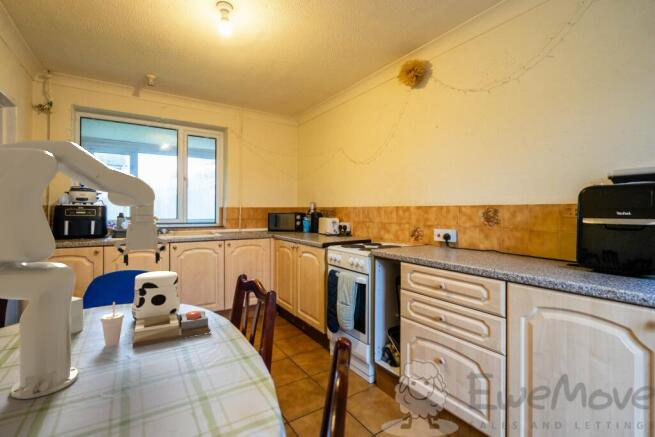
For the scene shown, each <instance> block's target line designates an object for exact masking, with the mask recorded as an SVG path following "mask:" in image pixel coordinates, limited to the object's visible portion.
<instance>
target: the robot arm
mask: <svg viewBox="0 0 655 437" xmlns="http://www.w3.org/2000/svg"><path fill="white" fill-rule="evenodd" d="M57 173H61V174H63V175H65V176H67V177H69V178H71V179H72V180H74V181H76V182H78V183H79V184H81V185H83V186H85V187H86V188H89V189H91V190H94V191H98V192H104V193H107V195H106V196H107V199H108V201H109V202H110V203H111V204H112V205H114V206H118V207H130V215H127V216H125V220H126V221H129V223H127V228H126V234H125V238H123V239H121V240H119V241H116V242H114V244H113V245H114V247H115V248H116V250H117V251H118V252H119V253H121V255H123V264H125V266H129V254H128V253H129V252H130V251H142V250H154V251H155V253H154V254H155V257H154V258H155V260H154V261H155V264H158V263H159V262H160V261H161V252H163V251H164V250H165V249H166V247H167V245H168V243H169V241H168V240H165V239H162V238H160V237H158V226H157V223H156V222H154V221H155V220H154V218H155V216H154V215H155V214H154V213H155V210H154V209H155V207H154V206H155V200H156V193H155V191H154V189H153V187H151V185H149V183H147V182H145V181H144V180H142V179H141V178H140V177H138V176H135V175H133V174H130V173H127V172H125V171H123V170H119V169H116V168H113V167H111V166H108V165H107V164H106V163H104V162H102V160H100V159H98V158H97V157H95V156H94V155H93V154H91V153H90V152H88V151H87V150H85V149H84V148H83V147H81V146H80V145H78V144H77V143H74V142H72V141H69V140H68V141H67V140H57V139H55V140H53V139H33V140H32V139H31V140H24V141H17V142H11V143H5V144H4V143H3V144H0V299H2V300H4V299H5V300H14V301H15V300H17V301H21V300H22V301H28V303H27V305H26V307H25V309H24V310H23V312H22V313H21V315H20V318H19V324H18V326H19V328H18V330H19V381H17V382H15V384H13V386H12V387H11V388H10V396H11V397H12V398H13V399H19V400H26V399H29V400H30V399H35V398H40V397H44V396H47V395H50V394H53V393H55V392H58V391H60V390H63V389H64V388H67V387H68V386H69V385H71V384H73V383H74V382H75V381H76V379H78V377H79V370H78V368H76V367H73V366H72V351H71V350H72V349H71V348H72V334H71V301H72V297H73V295H74V290H75V287H76V286H75V285H76V284H77V275H76V272H75V271H74V269H73V268H72V267H71V266H69V265H66V264H65V263H61V262H49V261H46V260H47V259H50V258H51V257H52V256H53V255H54V253H55V252H56V240H55V238H54V235H53V233H52V230H51V227H50V224H49V221H48V219H47V216H46V214H45V210H44V207H43V196H44V193H45V191H46V189H47V188H48V186H49V185H50V183H52V181H53V180H54V179H55V177H56V176H57ZM159 242H160V243H162V245H161V246H160V247H158V244H159ZM124 243H125V247H126V248H125V249H123V248H122V246H121V245H123V244H124Z"/></svg>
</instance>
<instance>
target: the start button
mask: <svg viewBox="0 0 655 437" xmlns="http://www.w3.org/2000/svg"><path fill="white" fill-rule="evenodd" d="M200 311H201V310H200ZM200 311H199V310H191V311H188V312H186V313H187V314H186V318H187V320H191V319H197V318H201V312H200Z"/></svg>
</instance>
